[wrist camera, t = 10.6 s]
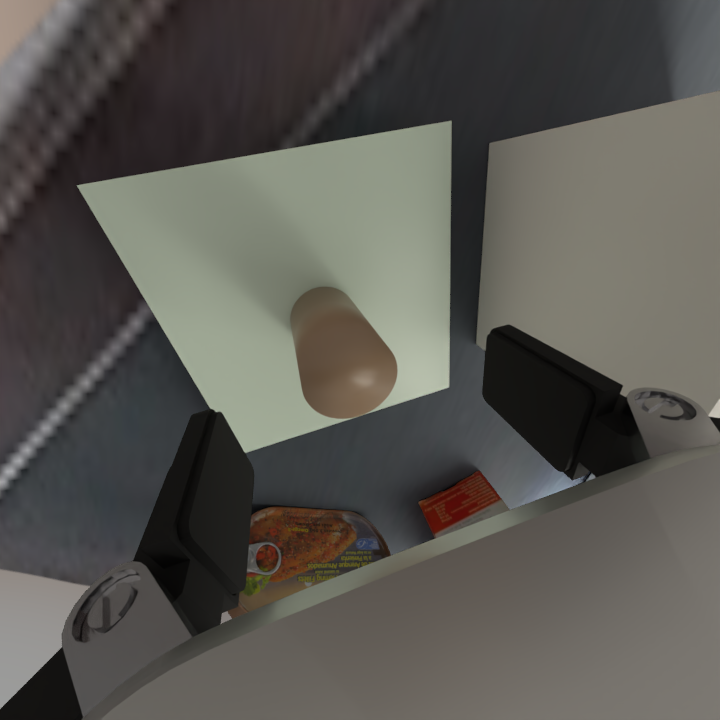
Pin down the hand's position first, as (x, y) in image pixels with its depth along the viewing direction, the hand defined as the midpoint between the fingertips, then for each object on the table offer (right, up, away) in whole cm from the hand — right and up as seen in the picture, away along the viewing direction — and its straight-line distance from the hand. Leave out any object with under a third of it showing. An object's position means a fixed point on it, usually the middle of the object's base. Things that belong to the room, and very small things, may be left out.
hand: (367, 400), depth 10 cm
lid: (-3, +5, +8) cm, 10 cm away
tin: (-5, -14, +18) cm, 24 cm away
